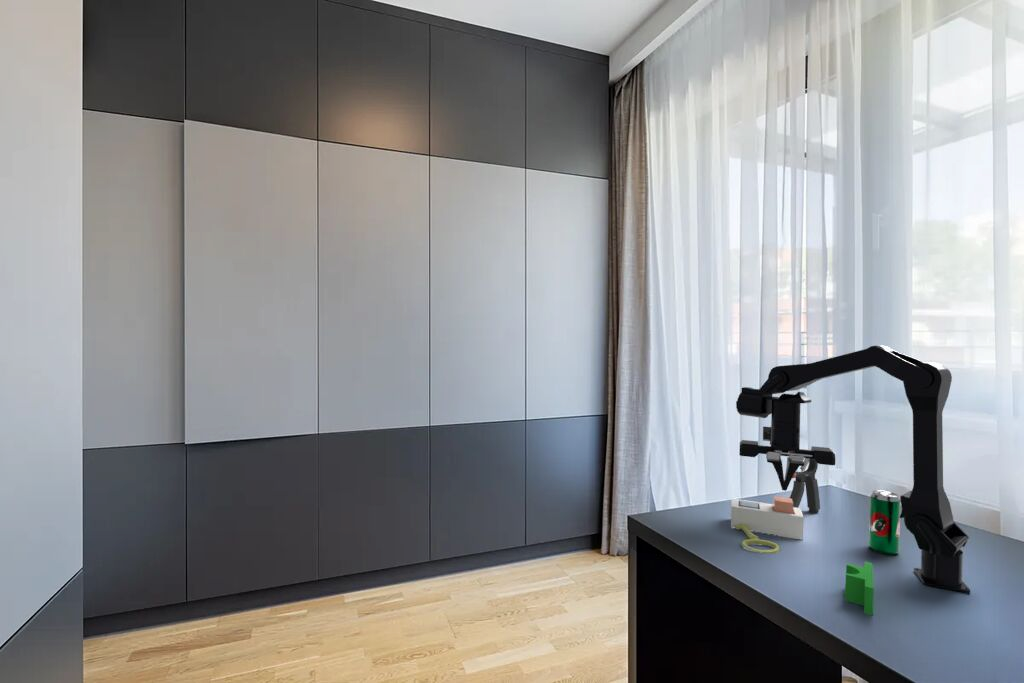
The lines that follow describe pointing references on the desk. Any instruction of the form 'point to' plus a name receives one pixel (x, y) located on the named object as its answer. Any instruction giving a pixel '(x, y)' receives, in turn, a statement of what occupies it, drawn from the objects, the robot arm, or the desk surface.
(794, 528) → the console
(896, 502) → the soda can
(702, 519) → the desk surface
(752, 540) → the key
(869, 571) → the pipe clamp
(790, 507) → the orange button
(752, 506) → the grey button
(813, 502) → the hand grip strengthener
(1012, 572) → the desk surface
